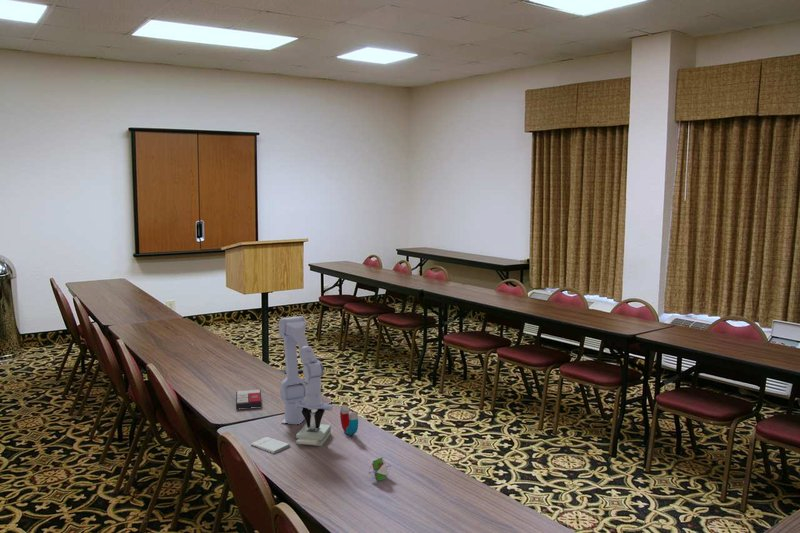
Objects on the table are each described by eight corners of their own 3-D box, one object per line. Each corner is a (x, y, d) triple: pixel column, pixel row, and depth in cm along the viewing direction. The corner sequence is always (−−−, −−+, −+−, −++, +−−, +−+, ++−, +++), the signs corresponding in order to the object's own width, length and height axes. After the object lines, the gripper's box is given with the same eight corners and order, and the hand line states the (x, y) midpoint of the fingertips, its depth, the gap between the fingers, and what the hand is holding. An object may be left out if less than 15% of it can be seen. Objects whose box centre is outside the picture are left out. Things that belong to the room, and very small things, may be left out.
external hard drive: (274, 455, 228) (250, 447, 235) (290, 447, 235) (267, 439, 242) (273, 451, 228) (250, 442, 235) (290, 443, 234) (267, 435, 242)
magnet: (358, 437, 243) (358, 413, 242) (352, 439, 242) (352, 414, 240) (346, 427, 253) (346, 403, 252) (340, 428, 252) (339, 405, 251)
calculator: (235, 402, 272) (236, 390, 286) (236, 411, 272) (236, 398, 287) (261, 400, 274) (260, 388, 288) (261, 409, 275) (260, 397, 289)
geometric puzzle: (361, 470, 211) (371, 456, 207) (376, 463, 216) (386, 450, 211) (373, 488, 207) (383, 474, 203) (388, 481, 212) (398, 468, 208)
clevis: (306, 431, 248) (306, 423, 248) (330, 433, 247) (330, 425, 246) (294, 446, 235) (294, 436, 234) (319, 448, 233) (319, 439, 233)
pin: (311, 432, 243) (310, 410, 242) (318, 433, 243) (318, 411, 241) (308, 435, 240) (308, 413, 239) (316, 436, 240) (316, 413, 239)
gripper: (291, 395, 237) (292, 429, 239) (328, 397, 234) (328, 432, 236) (298, 389, 244) (298, 422, 245) (333, 391, 241) (334, 425, 243)
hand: (313, 427), depth 241 cm, fingers closed on pin, 3 cm apart
